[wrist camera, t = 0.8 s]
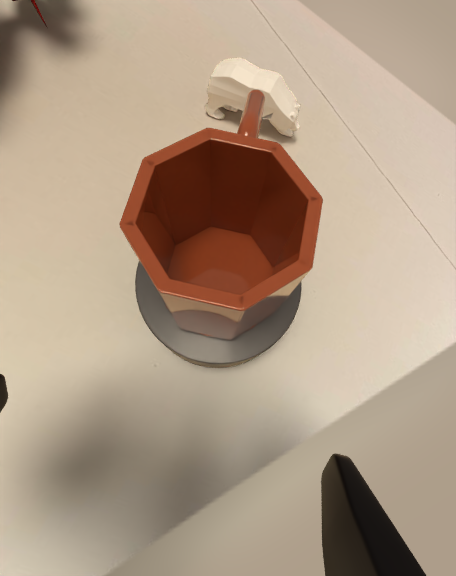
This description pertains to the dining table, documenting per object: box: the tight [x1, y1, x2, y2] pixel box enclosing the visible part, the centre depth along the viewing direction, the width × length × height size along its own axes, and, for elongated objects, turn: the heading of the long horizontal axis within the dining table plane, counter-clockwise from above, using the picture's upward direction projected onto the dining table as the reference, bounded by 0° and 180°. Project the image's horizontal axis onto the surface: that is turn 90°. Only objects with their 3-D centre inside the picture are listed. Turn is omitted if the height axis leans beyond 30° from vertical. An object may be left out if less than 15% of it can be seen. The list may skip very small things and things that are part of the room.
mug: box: [120, 89, 323, 340], centre depth 16 cm, size 11×7×8 cm, turn 167°
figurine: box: [205, 58, 301, 137], centre depth 26 cm, size 2×8×5 cm, turn 63°
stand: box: [135, 261, 301, 368], centre depth 22 cm, size 10×10×4 cm
